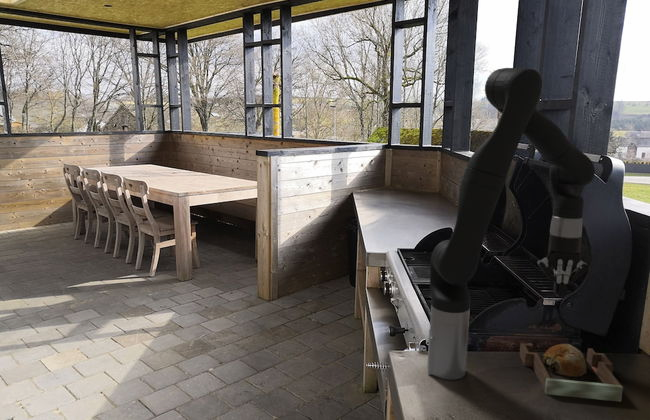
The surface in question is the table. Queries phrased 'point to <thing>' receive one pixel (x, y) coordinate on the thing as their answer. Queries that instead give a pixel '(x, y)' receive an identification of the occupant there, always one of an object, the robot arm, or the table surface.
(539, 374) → the box
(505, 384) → the table surface
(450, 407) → the table surface
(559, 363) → the bread roll
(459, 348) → the robot arm
